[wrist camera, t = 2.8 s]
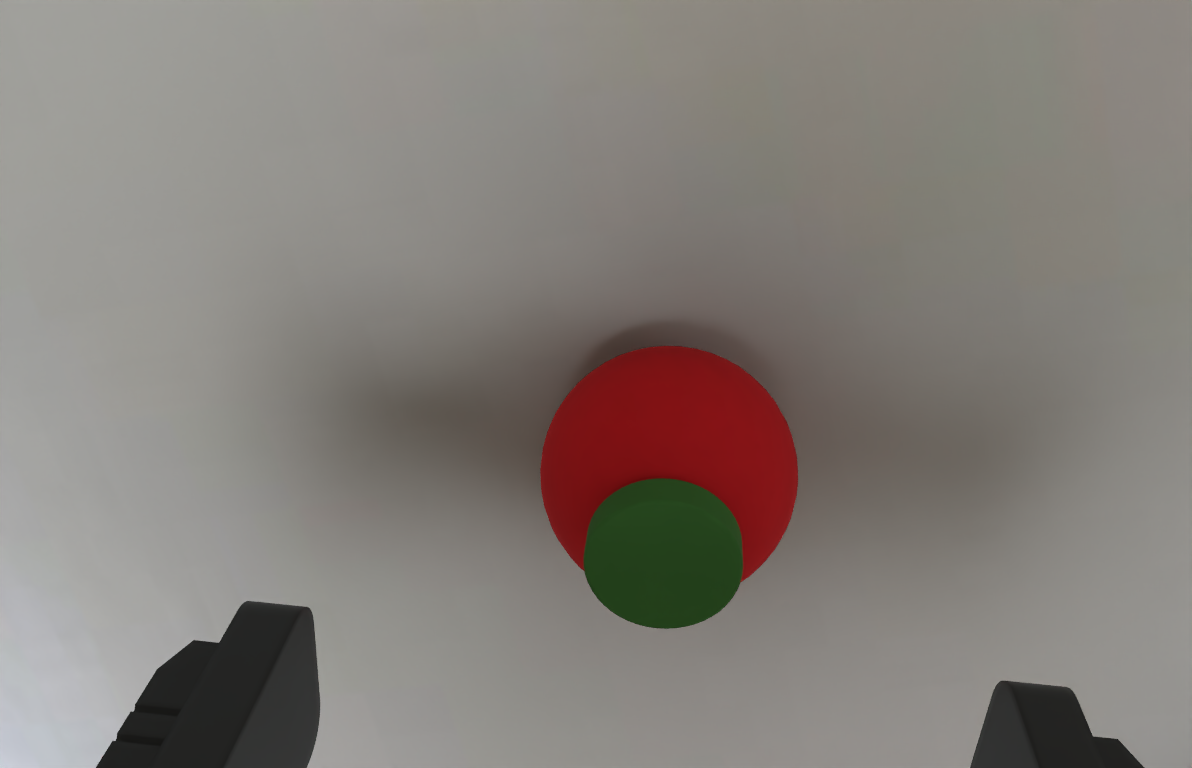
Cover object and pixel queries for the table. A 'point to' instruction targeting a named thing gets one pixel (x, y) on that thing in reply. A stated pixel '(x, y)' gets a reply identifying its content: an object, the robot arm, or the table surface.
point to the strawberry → (668, 482)
